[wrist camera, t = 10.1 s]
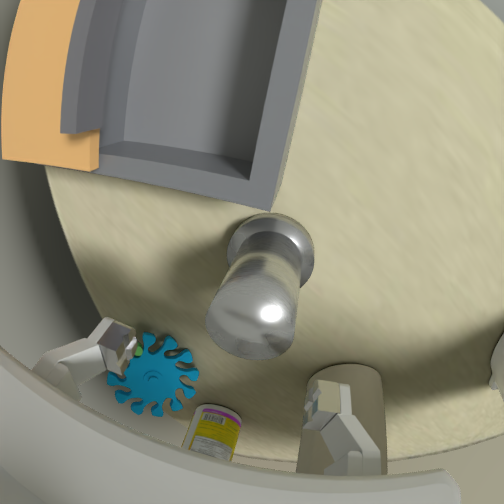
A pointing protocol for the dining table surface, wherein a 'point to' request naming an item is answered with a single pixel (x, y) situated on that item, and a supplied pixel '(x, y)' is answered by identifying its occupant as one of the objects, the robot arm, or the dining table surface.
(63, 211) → the dining table surface
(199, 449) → the supplement bottle
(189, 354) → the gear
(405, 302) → the dining table surface
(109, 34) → the lid
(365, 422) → the travel mug
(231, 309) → the silver rounded cylinder
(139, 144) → the housing
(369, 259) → the dining table surface
